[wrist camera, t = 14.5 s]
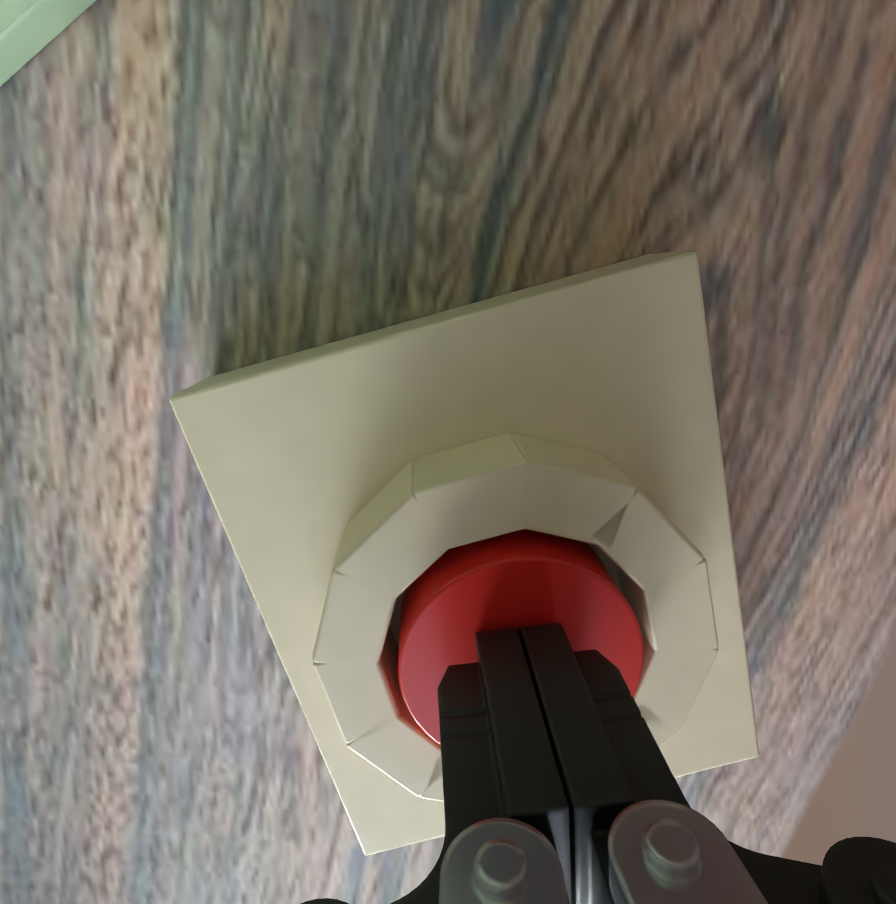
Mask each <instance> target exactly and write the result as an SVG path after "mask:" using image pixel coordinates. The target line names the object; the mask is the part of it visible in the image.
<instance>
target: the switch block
mask: <svg viewBox="0 0 896 904" xmlns="http://www.w3.org/2000/svg"><path fill="white" fill-rule="evenodd" d="M170 403H171V406H172V408H173V410H174V413H175V415H176V417H177V420H178V422H179V424H180V427H181V429H182V431H183V434H184V436H185V438H186V441H187V443H188V445H189V448H190V450H191V452H192V455H193V457H194V459H195V462H196V464H197V466H198V469H199V471H200V473H201V476H202V478H203V480H204V482H205V485H206V487H207V489H208V492H209V494H210V496H211V499H212V501H213V503H214V506H215V508H216V510H217V513H218V515H219V517H220V520H221V522H222V524H223V527H224V529H225V531H226V534H227V536H228V538H229V541H230V543H231V545H232V548H233V550H234V552H235V555H236V557H237V559H238V562H239V564H240V566H241V569H242V571H243V573H244V576H245V578H246V580H247V583H248V585H249V587H250V590H251V592H252V594H253V596H254V599H255V601H256V603H257V606H258V608H259V610H260V613H261V615H262V617H263V620H264V622H265V624H266V627H267V629H268V631H269V634H270V636H271V638H272V641H273V643H274V645H275V648H276V650H277V652H278V655H279V657H280V659H281V662H282V664H283V666H284V669H285V671H286V673H287V676H288V678H289V680H290V683H291V685H292V687H293V690H294V692H295V694H296V697H297V699H298V701H299V704H300V706H301V708H302V710H303V713H304V715H305V717H306V720H307V722H308V724H309V727H310V729H311V731H312V734H313V736H314V738H315V741H316V743H317V745H318V748H319V750H320V752H321V755H322V757H323V759H324V762H325V764H326V766H327V769H328V771H329V773H330V776H331V778H332V780H333V783H334V785H335V787H336V790H337V792H338V794H339V797H340V799H341V801H342V804H343V806H344V808H345V811H346V813H347V815H348V818H349V820H350V822H351V824H352V827H353V829H354V831H355V834H356V836H357V838H358V841H359V843H360V845H361V848H362V850H363V852H364V854H365V855H370V854H374V853H378V852H382V851H386V850H390V849H394V848H398V847H402V846H406V845H410V844H414V843H418V842H422V841H426V840H430V839H434V838H438V837H442V836H445V813H444V795H443V777H442V759H441V745H440V744H438V743H437V742H435V741H434V740H433V739H432V738H431V737H430V736H428V735H427V734H426V733H425V732H424V731H423V729H422V728H421V727H420V726H419V725H418V724H417V722H416V721H415V719H414V718H413V716H412V715H411V713H410V712H409V710H408V708H407V706H406V703H405V701H404V699H403V696H402V692H401V689H400V685H399V676H398V660H399V637H400V614H401V603H402V598H403V593H404V591H405V589H406V588H407V587H408V586H409V585H410V584H411V583H413V582H414V581H415V580H416V579H417V578H418V577H419V576H420V575H421V574H422V573H423V572H424V571H425V570H427V569H428V568H429V567H430V566H431V565H432V564H433V563H434V562H435V561H436V560H437V559H438V558H439V557H441V556H442V555H443V554H444V553H445V552H446V551H447V550H448V549H451V548H454V547H458V546H462V545H466V544H469V543H473V542H477V541H481V540H484V539H488V538H492V537H496V536H499V535H503V534H507V533H511V532H514V531H518V530H522V529H529V530H533V531H537V532H542V533H546V534H551V535H555V536H560V537H564V538H568V539H573V540H577V541H582V542H586V543H587V544H588V545H589V546H590V547H591V548H592V549H593V550H594V551H595V552H596V554H597V555H598V556H599V558H600V559H601V561H602V562H603V564H604V565H605V567H606V569H607V570H608V572H609V573H610V575H611V576H612V578H613V580H614V581H615V583H616V584H617V586H618V587H619V589H620V590H621V592H622V594H623V595H624V597H625V598H626V600H627V601H628V603H629V605H630V606H631V608H632V609H633V611H634V613H635V616H636V618H637V620H638V622H639V626H640V629H641V633H642V638H643V647H644V653H643V667H642V672H641V677H640V680H639V683H638V686H637V689H636V691H635V693H634V695H633V698H634V700H635V702H636V704H637V706H638V708H639V710H640V712H641V716H642V717H644V719H645V721H646V723H647V725H648V727H649V729H650V731H651V733H652V735H653V737H654V739H655V741H656V743H657V745H658V747H659V749H660V751H661V752H662V754H663V756H664V758H665V760H666V762H667V764H668V766H669V768H670V770H671V772H672V774H673V776H674V778H675V777H679V776H683V775H687V774H691V773H695V772H699V771H703V770H707V769H711V768H715V767H719V766H723V765H727V764H731V763H735V762H739V761H743V760H747V759H751V758H754V757H758V756H759V747H758V739H757V731H756V723H755V715H754V707H753V699H752V691H751V683H750V675H749V667H748V659H747V651H746V643H745V635H744V627H743V618H742V610H741V602H740V594H739V586H738V578H737V570H736V562H735V554H734V546H733V538H732V530H731V522H730V514H729V506H728V498H727V489H726V481H725V473H724V465H723V457H722V449H721V441H720V433H719V425H718V417H717V409H716V401H715V393H714V385H713V377H712V369H711V360H710V352H709V344H708V336H707V328H706V320H705V312H704V304H703V296H702V288H701V280H700V272H699V264H698V256H697V253H696V252H695V251H685V252H670V253H656V254H647V255H643V256H640V257H636V258H632V259H629V260H625V261H622V262H618V263H615V264H611V265H607V266H604V267H600V268H597V269H593V270H590V271H586V272H582V273H579V274H575V275H572V276H568V277H564V278H561V279H557V280H554V281H550V282H547V283H543V284H539V285H536V286H532V287H529V288H525V289H522V290H518V291H514V292H511V293H507V294H504V295H500V296H496V297H493V298H489V299H486V300H482V301H479V302H475V303H471V304H468V305H464V306H461V307H457V308H454V309H450V310H446V311H443V312H439V313H436V314H432V315H428V316H425V317H421V318H418V319H414V320H411V321H407V322H403V323H400V324H396V325H393V326H389V327H386V328H382V329H378V330H375V331H371V332H368V333H364V334H360V335H357V336H353V337H350V338H346V339H343V340H339V341H335V342H332V343H328V344H325V345H321V346H318V347H314V348H310V349H307V350H303V351H300V352H296V353H292V354H289V355H285V356H282V357H278V358H275V359H271V360H267V361H264V362H260V363H257V364H253V365H250V366H246V367H242V368H239V369H235V370H232V371H228V372H224V373H221V374H217V375H214V376H210V377H208V378H206V379H204V380H202V381H200V382H198V383H196V384H195V385H193V386H191V387H189V388H187V389H185V390H183V391H181V392H179V393H177V394H175V395H173V396H172V397H171V398H170Z"/></svg>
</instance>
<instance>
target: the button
mask: <svg viewBox="0 0 896 904" xmlns="http://www.w3.org/2000/svg"><path fill="white" fill-rule="evenodd" d="M559 622H560V623H561V624H562V626H563V628H564V631H565V633H566V635H567V638H568V640H569V643H570V645H571V647H572V650H573V652H574V651H583V650H592V649H596V650H597V651H599V652H600V653H601V654H602V655H603V656H605V657H606V658H607V659H608V660H609V661H611V662H612V663H613V664H614V665H615V666H616V667H618V669H619V671H620V673H621V675H622V676H623V678H624V680H625V682H626V684H627V686H628V688H629V690H630V694H631V697H633V695H634V693H635V691H636V689H637V686H638V683H639V680H640V677H641V672H642V667H643V653H644V647H643V638H642V633H641V629H640V626H639V622H638V620H637V618H636V616H635V613H634V611H633V609H632V608H631V606H630V605H629V603H628V601H627V600H626V598H625V597H624V595H623V594H622V592H621V590H620V589H619V587H618V586H617V584H616V583H615V581H614V580H613V578H612V576H611V575H610V573H609V572H608V570H607V569H606V567H605V565H604V564H603V562H602V561H601V559H600V558H599V556H598V555H597V554H596V552H595V551H594V550H593V549H592V548H591V547H590V546H589V545H588V544H587V543H586V542H582V541H577V540H573V539H568V538H564V537H560V536H555V535H551V534H546V533H542V532H537V531H533V530H529V529H522V530H518V531H514V532H511V533H507V534H503V535H499V536H496V537H492V538H488V539H484V540H481V541H477V542H473V543H469V544H466V545H462V546H458V547H454V548H451V549H448V550H447V551H446V552H445V553H444V554H443V555H442V556H441V557H439V558H438V559H437V560H436V561H435V562H434V563H433V564H432V565H431V566H430V567H429V568H428V569H427V570H425V571H424V572H423V573H422V574H421V575H420V576H419V577H418V578H417V579H416V580H415V581H414V582H413V583H411V584H410V585H409V586H408V587H407V588H406V589H405V591H404V593H403V598H402V603H401V614H400V637H399V660H398V676H399V685H400V689H401V692H402V696H403V699H404V701H405V703H406V706H407V708H408V710H409V712H410V713H411V715H412V716H413V718H414V719H415V721H416V722H417V724H418V725H419V726H420V727H421V728H422V729H423V731H424V732H425V733H426V734H427V735H428V736H430V737H431V738H432V739H433V740H434V741H435V742H437V743H438V744H440V745H441V742H440V741H441V739H440V724H439V706H438V686H439V684H440V682H441V680H442V678H443V676H444V674H445V672H446V670H447V668H448V666H449V665H458V664H467V663H476V662H477V653H476V641H475V632H478V631H487V630H496V629H506V628H515V627H516V628H517V631H518V628H519V627H523V626H532V625H541V624H550V623H559Z"/></svg>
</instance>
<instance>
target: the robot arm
mask: <svg viewBox="0 0 896 904" xmlns="http://www.w3.org/2000/svg"><path fill="white" fill-rule="evenodd" d="M475 641H476V653H477V662H476V663H467V664H458V665H449V666H448V668H447V670H446V672H445V674H444V676H443V678H442V680H441V682H440V684H439V686H438V706H439V724H440V739H441V741H440V742H441V759H442V777H443V795H444V813H445V839H444V845H443V849H442V851H441V854H440V857H439V859H438V861H437V863H436V865H435V867H434V868H433V870H432V871H431V872H430V874H429V875H428V877H427V878H426V879H425V880H424V881H423V882H422V883H421V884H420V885H419V886H418V887H417V888H415V889H414V890H413V891H412V892H410V893H409V894H407V895H406V896H404V897H402V898H401V899H399V900H397V901H395V902H393V903H391V904H896V843H894V842H890V841H886V840H883V839H879V838H872V837H852V838H846V839H844V840H841V841H839V842H837V843H835V844H834V845H833V846H832V847H830V849H829V850H828V851H827V853H826V854H825V857H824V861H823V865H822V866H820V865H815V864H810V863H805V862H800V861H795V860H789V859H785V858H780V857H774V856H769V855H765V854H761V853H757V852H753V851H751V850H748V849H745V848H743V847H740V846H738V845H736V844H734V843H732V842H730V841H728V840H727V839H726V837H725V836H724V834H723V833H722V832H721V831H720V830H719V829H718V828H717V827H716V826H715V825H714V824H713V823H712V822H711V821H710V820H708V819H707V818H706V817H705V816H703V815H701V814H700V813H698V812H697V811H695V810H693V809H691V807H690V806H689V804H688V802H687V801H686V799H685V797H684V795H683V793H682V791H681V789H680V788H679V786H678V784H677V782H676V780H675V778H674V776H673V774H672V772H671V770H670V768H669V766H668V764H667V762H666V760H665V758H664V756H663V754H662V752H661V751H660V749H659V747H658V745H657V743H656V741H655V739H654V737H653V735H652V733H651V731H650V729H649V727H648V725H647V723H646V721H645V719H644V717H642V716H641V712H640V710H639V708H638V706H637V704H636V702H635V700H634V698H633V697H631V694H630V690H629V688H628V686H627V684H626V682H625V680H624V678H623V676H622V675H621V673H620V671H619V669H618V667H616V666H615V665H614V664H613V663H612V662H611V661H609V660H608V659H607V658H606V657H605V656H603V655H602V654H601V653H600V652H599V651H597V650H596V649H592V650H583V651H574V652H573V650H572V647H571V645H570V643H569V640H568V638H567V635H566V633H565V631H564V628H563V626H562V624H561V623H560V622H559V623H550V624H541V625H532V626H523V627H519V628H518V631H517V628H516V627H515V628H506V629H496V630H487V631H478V632H475ZM301 904H348V903H346V902H343V901H340V900H337V899H329V898H325V899H315V900H311V901H306V902H304V903H301Z"/></svg>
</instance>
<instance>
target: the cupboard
mask: <svg viewBox="0 0 896 904" xmlns="http://www.w3.org/2000/svg"><path fill="white" fill-rule="evenodd" d="M95 1H96V0H0V87H1V86H2V85H3V84H4V83H5V82H6V81H7V80H8V79H9V78H11V77H12V76H13V75H14V74H15V73H16V72H17V71H18V70H19V69H21V68H22V67H23V66H24V65H25V64H26V63H27V62H28V61H29V60H31V59H32V58H33V57H34V56H35V55H36V54H37V53H38V52H40V51H41V50H42V49H43V48H44V47H45V46H46V45H47V44H48V43H50V42H51V41H52V40H53V39H54V38H55V37H56V36H57V35H58V34H60V33H61V32H62V31H63V30H64V29H65V28H66V27H67V26H68V25H70V24H71V23H72V22H73V21H74V20H75V19H76V18H77V17H78V16H80V15H81V14H82V13H83V12H84V11H85V10H86V9H87V8H89V7H90V6H91V5H92V4H93V3H94V2H95Z"/></svg>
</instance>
